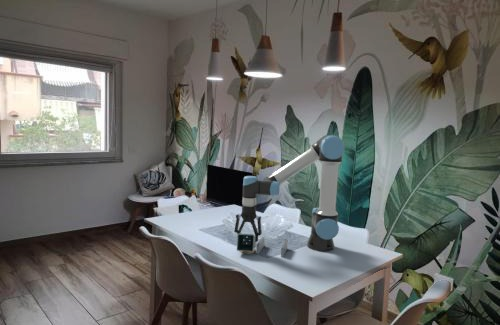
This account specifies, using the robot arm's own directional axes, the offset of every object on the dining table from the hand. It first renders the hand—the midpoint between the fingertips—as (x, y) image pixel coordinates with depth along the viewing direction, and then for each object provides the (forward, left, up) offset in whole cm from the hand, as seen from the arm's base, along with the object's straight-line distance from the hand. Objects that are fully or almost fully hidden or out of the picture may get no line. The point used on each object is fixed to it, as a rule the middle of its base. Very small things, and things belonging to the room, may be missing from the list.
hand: (247, 246), depth 195 cm
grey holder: (-13, -4, -3) cm, 14 cm away
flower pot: (+1, -1, +3) cm, 3 cm away
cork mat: (0, 0, -3) cm, 3 cm away
